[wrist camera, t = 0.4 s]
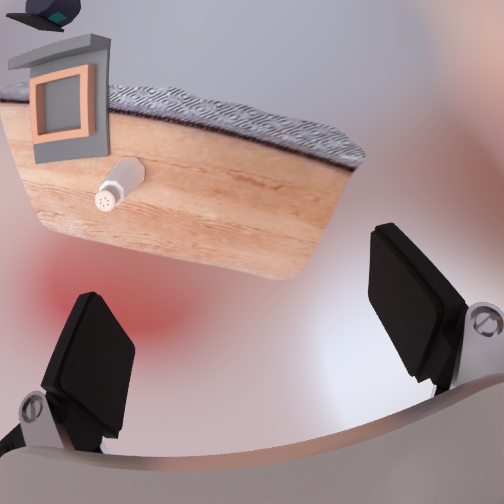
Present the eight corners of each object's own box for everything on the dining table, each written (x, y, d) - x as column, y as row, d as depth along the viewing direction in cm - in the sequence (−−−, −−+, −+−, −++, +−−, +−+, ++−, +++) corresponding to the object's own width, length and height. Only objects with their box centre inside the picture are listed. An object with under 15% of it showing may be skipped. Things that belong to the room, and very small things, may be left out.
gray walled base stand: (34, 58, 26) (8, 59, 20) (110, 39, 28) (90, 33, 22) (38, 161, 36) (15, 176, 30) (110, 154, 38) (92, 168, 32)
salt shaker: (139, 150, 38) (115, 174, 29) (151, 183, 41) (131, 215, 32) (108, 162, 38) (78, 189, 29) (120, 193, 41) (95, 227, 32)
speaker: (57, 43, 26) (21, 32, 17) (39, 29, 23) (3, 18, 14) (91, 4, 24) (62, -17, 15) (71, -8, 21) (41, -29, 12)
